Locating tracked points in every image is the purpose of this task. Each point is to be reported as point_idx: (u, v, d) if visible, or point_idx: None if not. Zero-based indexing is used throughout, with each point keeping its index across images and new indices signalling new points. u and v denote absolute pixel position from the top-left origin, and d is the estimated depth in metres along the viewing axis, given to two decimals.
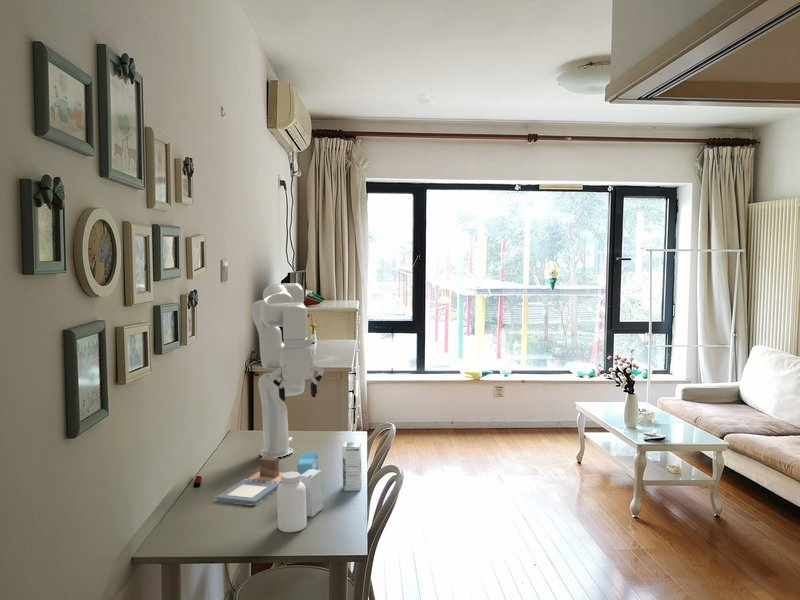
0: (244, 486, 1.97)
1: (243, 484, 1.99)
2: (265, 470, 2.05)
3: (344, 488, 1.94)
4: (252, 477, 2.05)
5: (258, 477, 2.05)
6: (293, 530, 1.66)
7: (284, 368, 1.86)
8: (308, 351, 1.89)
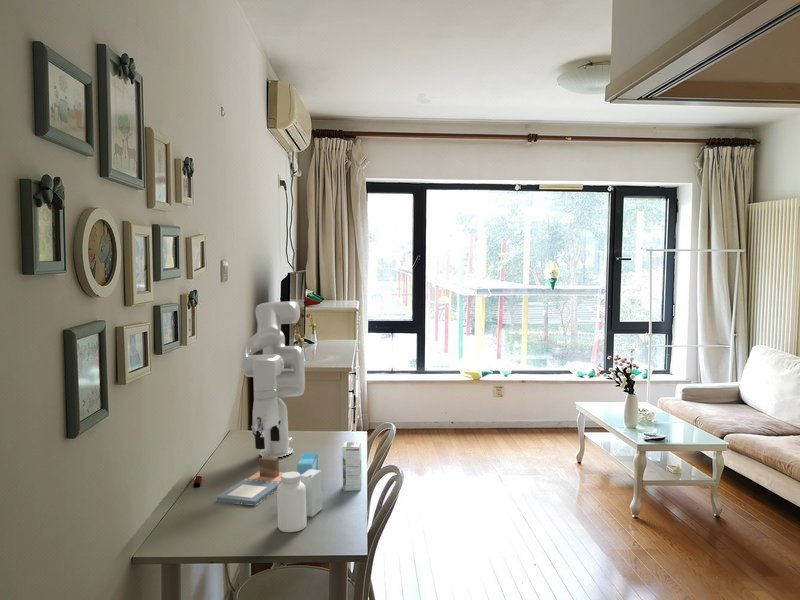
0: (244, 486, 1.97)
1: (243, 484, 1.99)
2: (265, 470, 2.05)
3: (344, 488, 1.94)
4: (252, 477, 2.05)
5: (258, 477, 2.05)
6: (293, 530, 1.66)
7: (265, 418, 1.99)
8: (276, 399, 2.06)
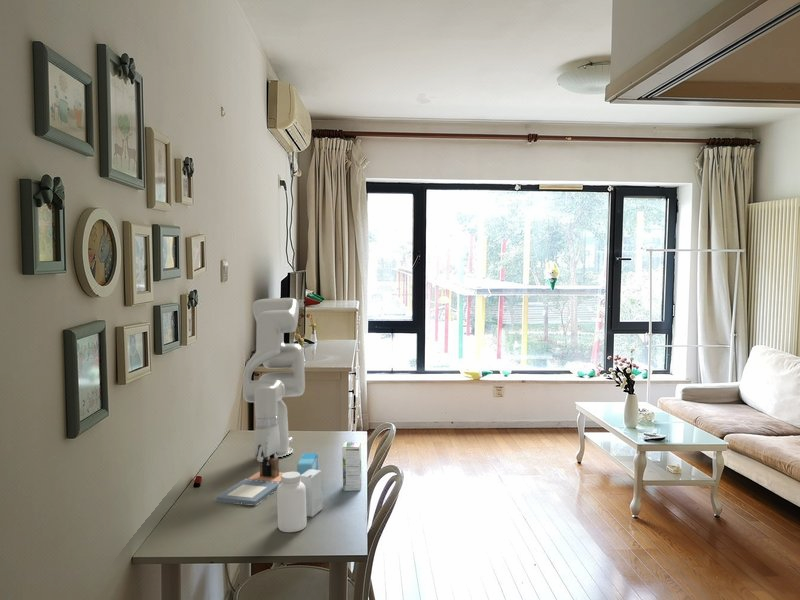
0: (244, 486, 1.97)
1: (243, 484, 1.99)
2: None
3: (344, 488, 1.94)
4: (252, 477, 2.05)
5: (258, 477, 2.05)
6: (293, 530, 1.66)
7: (266, 445, 2.00)
8: (278, 425, 2.07)
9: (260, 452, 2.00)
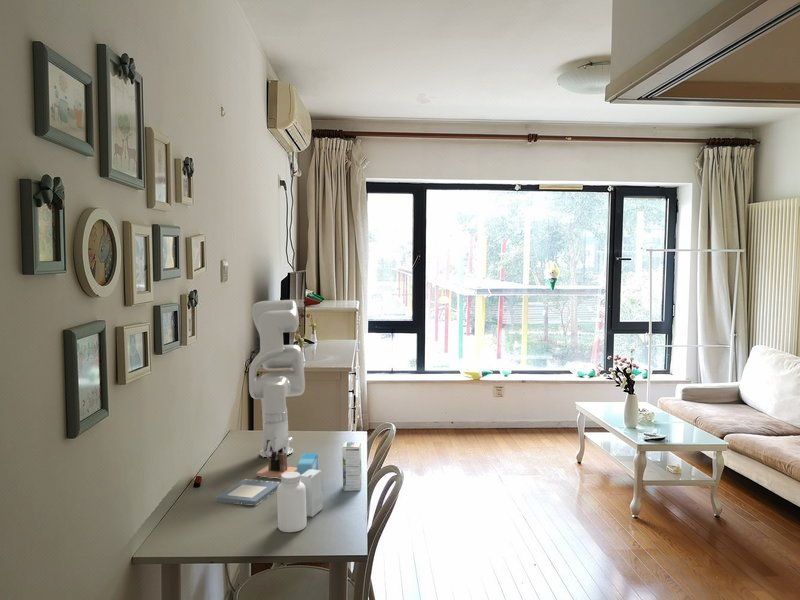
0: (244, 486, 1.97)
1: (243, 484, 1.99)
2: None
3: (344, 488, 1.94)
4: (261, 471, 2.10)
5: (267, 471, 2.10)
6: (293, 530, 1.66)
7: (275, 440, 2.06)
8: (286, 421, 2.13)
9: (269, 447, 2.06)
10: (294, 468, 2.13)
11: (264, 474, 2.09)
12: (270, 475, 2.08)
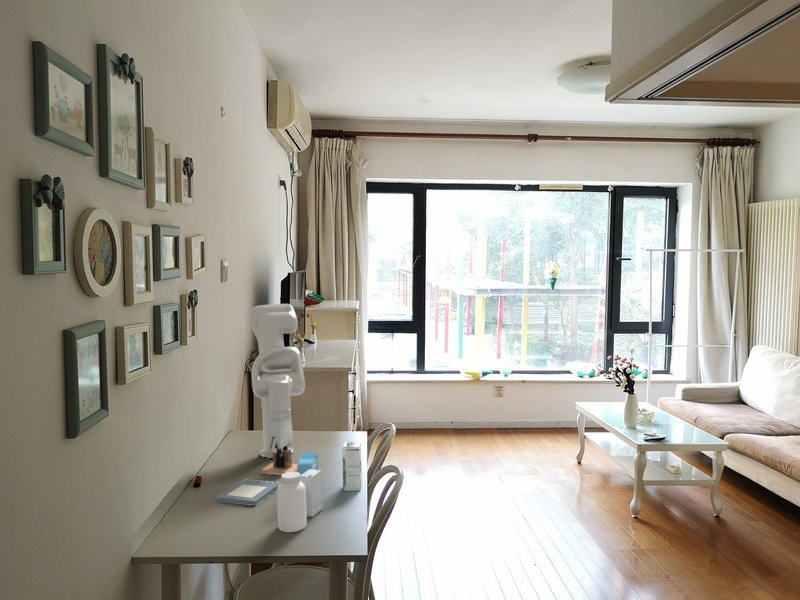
0: (244, 486, 1.97)
1: (243, 484, 1.99)
2: None
3: (344, 488, 1.94)
4: (266, 468, 2.14)
5: (272, 468, 2.14)
6: (293, 530, 1.66)
7: (280, 437, 2.09)
8: (290, 418, 2.16)
9: (274, 444, 2.09)
10: None
11: (269, 471, 2.12)
12: (275, 472, 2.11)
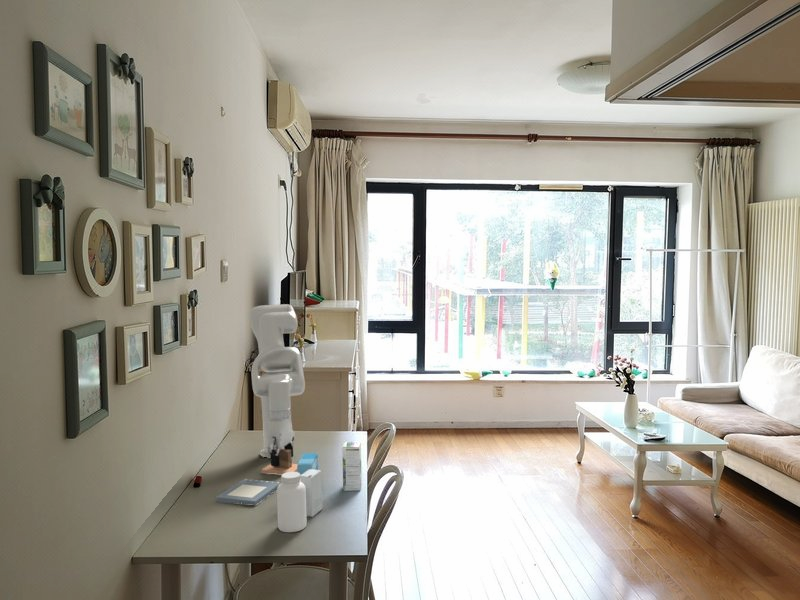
0: (244, 486, 1.97)
1: (243, 484, 1.99)
2: None
3: (344, 488, 1.94)
4: (266, 468, 2.14)
5: (272, 468, 2.14)
6: (293, 530, 1.66)
7: (280, 437, 2.09)
8: (290, 418, 2.16)
9: (274, 443, 2.09)
10: None
11: (269, 471, 2.12)
12: (275, 472, 2.11)
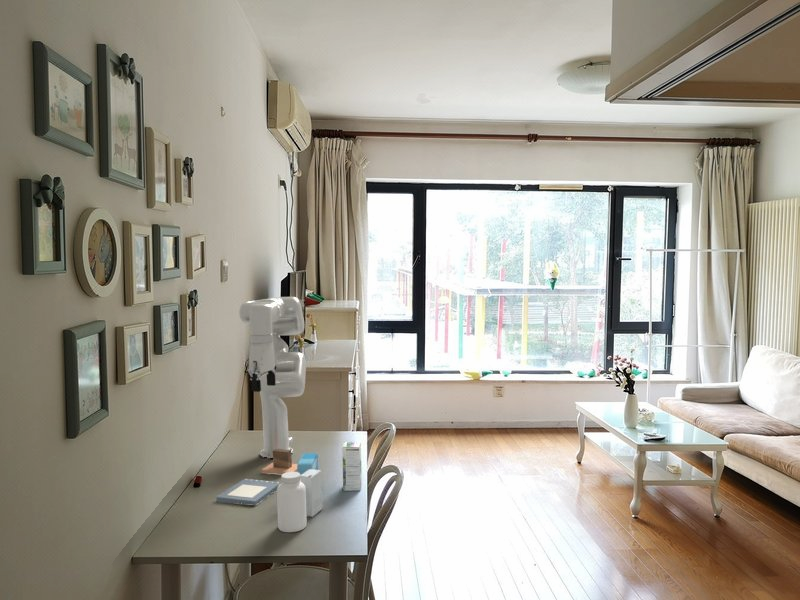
0: (244, 486, 1.97)
1: (243, 484, 1.99)
2: (279, 461, 2.13)
3: (344, 488, 1.94)
4: (266, 468, 2.14)
5: (272, 468, 2.14)
6: (293, 530, 1.66)
7: (261, 361, 2.05)
8: (272, 345, 2.12)
9: None
10: None
11: (269, 471, 2.12)
12: (275, 472, 2.11)
